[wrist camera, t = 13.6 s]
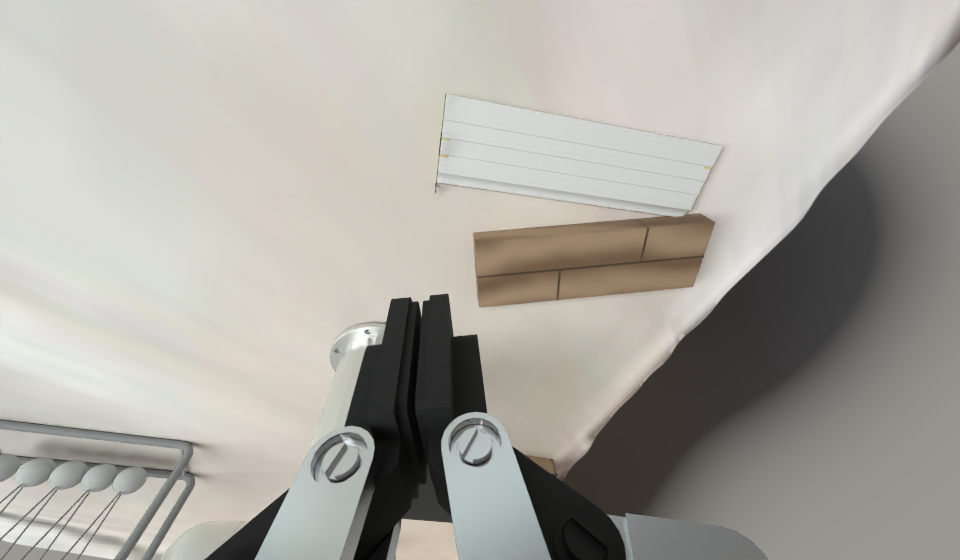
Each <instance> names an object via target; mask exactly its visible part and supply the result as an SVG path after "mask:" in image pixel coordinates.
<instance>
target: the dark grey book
mask: <svg viewBox="0 0 960 560" xmlns="http://www.w3.org/2000/svg"><path fill="white" fill-rule="evenodd" d="M526 457H528V458H529V459H531V460H532V461H533V462H535V463H536V464H538V465H539V466H541V467H542V468H543V469H545V470H546V471H548V472H549V473H550V474H552V475H553V476H555V477H557V476H558V474H557V472H556V471H555V470H556V468H555V466H554V463H553V462H554V461H553V459H545V458H539V457H533V456H526ZM401 519H412V520H424V521H437V522H449V523H453V520H452V517H451V516H450V515H449V514H448V513H447V512H446V511H445V510H444V509H443V508H442V507H441V506H440V505H439V504H438V501H437V497H436V493H435V488H434V484H433V483H432V480H431V476H430V472H429V468H428V464H427V482H426V484H421V485H419V498H418V499H412V505H411V508H410V509H409V510H408V512H407V513H406V514H405V515H404V516H403V517H402V518H401Z"/></svg>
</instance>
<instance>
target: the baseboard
mask: <svg viewBox="0 0 960 560" xmlns="http://www.w3.org/2000/svg"><path fill="white" fill-rule="evenodd" d="M440 140H441V141H440V148H439V161H438V171H437V180H436V184H437V182H438V183H445V184H452V185H459V186H465V187H472V188H479V189H486V190H493V191H500V192H507V193H514V194H521V195H527V196H534V197H541V198H548V199H555V200H562V201H569V202H576V203H583V204H589V205H596V206H603V207H610V208H617V209H624V210H631V211H638V212H645V213H651V214H658V215H665V216H672V217H677V216H684V215H685V214H686V213H687V212H688V211H690V210H691V209H692V207H693V205H694V202H695V200H696V198H697V196H698V195H699V193H700V190H701V188H702V186H703V184H704V182H705V181H706V179H707V176H708V174H709V172H710V170H711V168H712V167H713V165H714V163H715V161H716V159H717V157H718V155H719V153H720V151H721V149H722V146H719V145H714V144H709V143H704V142H698V141H693V140H688V139H683V138H677V137H672V136H667V135H662V134H656V133H651V132H646V131H641V130H635V129H630V128H625V127H620V126H614V125H609V124H604V123H599V122H593V121H588V120H583V119H578V118H572V117H567V116H562V115H556V114H551V113H546V112H541V111H535V110H530V109H525V108H520V107H514V106H509V105H504V104H499V103H493V102H488V101H483V100H478V99H472V98H467V97H462V96H457V95H451V94H446V96H445V105H444V115H443V124H442V133H441V139H440ZM435 192H436V187H435Z"/></svg>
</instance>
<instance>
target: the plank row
mask: <svg viewBox="0 0 960 560" xmlns="http://www.w3.org/2000/svg"><path fill="white" fill-rule="evenodd" d="M714 224H715V222H714V221H712V220H710V219H708V218H707V217H705V216H703V215H702V214H700V213H699V214H688V215H684V216H677V217H672V216H664V217H653V218H641V219H629V220H618V221H606V222H594V223H583V224H571V225H559V226H548V227H536V228H524V229H513V230H501V231H489V232H478V233H473V237H474V252H475V268H476V282H477V296H478V302H479V307H490V306H500V305H510V304H521V303H531V302H541V301H552V300H562V299H572V298H582V297H593V296H603V295H613V294H624V293H634V292H644V291H655V290H665V289H675V288H686V287H693V286H694V283H695V280H696V277H697V274H698V271H699V268H700V265H701V262H702V259H703V257H704V253H705V250H706V247H707V244H708V242H709V239H710V236H711V233H712V230H713V227H714Z"/></svg>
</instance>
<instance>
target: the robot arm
mask: <svg viewBox="0 0 960 560" xmlns="http://www.w3.org/2000/svg"><path fill="white" fill-rule="evenodd" d="M330 362H331V365H332V368H333V369H334V371H335V372H336V373H335V376H334V379H333V381H332V384H331V387H330V390H329V393H328V396H327V399H326V402H325V404H324V407H323V410H322V413H321V416H320V419H319V422H318V425H317V427H316V430H315V433H314V436H313V439H312V442H311V445H310V448H309V450H308V453H307V456H306V457H305V459H304V461H303V463H302V465H301V467H300V469H299V471H298V473H297V475H296V477H295V479H294V481H293V483H292V485H291V487H290V488H289V489H288V490H287V491H286V492H285V493H283V494H282V495H281V496H280V497H279V498H277V499H276V500H275V501H274V502H273V503H271V504H270V505H269V506H268V507H267V508H265V509H264V510H263V511H262V512H261V513H259V514H258V515H257V516H256V517H255V518H253V519H252V520H251V521H250V522H246V521H213V522H207V523H203V524H200V525H197V526H195V527H193V528H191V529H189V530H188V531H186V532H185V533H184V534H182V535H181V536H180V537H179V538H178V539H177V540H176V541H175V542H174V543H173V544H172V545H171V546H170V547H169V548H168V550H167V551H166V552H165V553H164V555H163V556H162V558H161V559H160V560H396V547H397V542H398V538H399V533H400V529H401V518H402V517H403V516H404V515H405V514H406V513H407V512H408V510H409V509H410V508H411V505H412V499H418V498H419V485H421V484H426V482H427V464H428V468H429V472H430V476H431V480H432V483H433V484H434V488H435V493H436V497H437V501H438V504H439V505H440V506H441V507H442V508H443V509H444V510H445V511H446V512H447V513H448V514H449V515H450V516H451V517H452V520H453V527H454V533H455V539H456V546H457V552H458V558H459V560H768V558H767V557H766V555H765V554H764V553H763V552H762V551H761V550H760V549H759V548H758V547H757V546H756V545H755V544H754V543H753V542H752V541H751V540H750V539H748V538H747V537H745V536H744V535H742V534H740V533H739V532H737V531H735V530H732V529H729V528H725V527H723V526H716V525H709V524H701V523H693V522H687V521H679V520H672V519H664V518H657V517H650V516H642V515H635V514H628V513H625V516H624V517H619V516H611V515H606V514H605V513H604V512H603V511H602V510H601V509H599V508H598V507H597V506H595V505H594V504H593V503H591V502H590V501H588V500H587V499H586V498H584V497H583V496H581V495H580V494H579V493H577V492H576V491H574V490H573V489H571V488H570V487H569V486H567V485H566V484H564V483H563V482H562V481H560V480H559V479H557V478H556V477H555V476H553V475H552V474H550V473H549V472H548V471H546V470H545V469H543V468H542V467H541V466H539V465H538V464H536V463H535V462H533V461H532V460H531V459H529V458H528V457H526V456H525V455H524V454H522V453H521V452H519V451H518V450H517V449H515V448H514V447H512V445H511V442H510V439H509V436H508V433H507V431H506V429H505V428H504V426H503V424H502V423H501V422H500V421H499V420H498V419H497V418H495V417H493V416H491V415H489V414H487V409H486V401H485V393H484V385H483V377H482V369H481V362H480V354H479V346H478V338H477V334H476V335H467V336H457V337H454V336H453V328H452V320H451V311H450V303H449V296H448V294H441V295H430V300H428V301H423V309H422V318H421V312H420V307H419V303H418V302H412V299H411V298H410V297H409V298H398V299H392V300H391V303H390V308H389V312H388V317H387V321H386V324H381V323H365V324H361V325H356V326H354V327H351V328H349V329H347V330H346V331H344V332H342V333H341V334H340V335H339V336H338V337H337V339H336V340H335V342H334V343H333V346H332V348H331V352H330Z"/></svg>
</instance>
